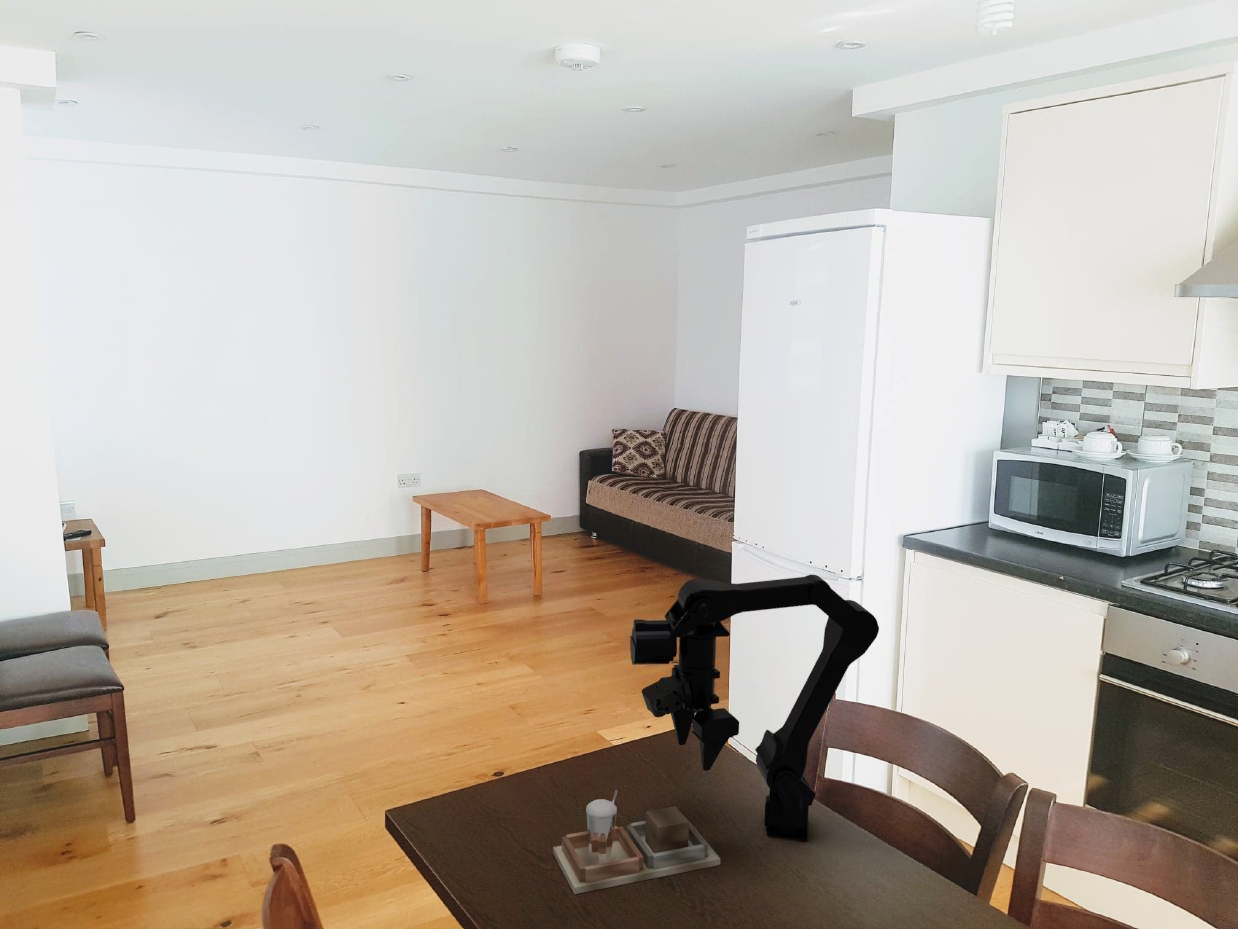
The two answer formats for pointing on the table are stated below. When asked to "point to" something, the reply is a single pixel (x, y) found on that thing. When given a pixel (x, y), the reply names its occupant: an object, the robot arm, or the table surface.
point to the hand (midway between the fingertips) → (693, 757)
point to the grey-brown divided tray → (637, 852)
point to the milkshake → (601, 829)
